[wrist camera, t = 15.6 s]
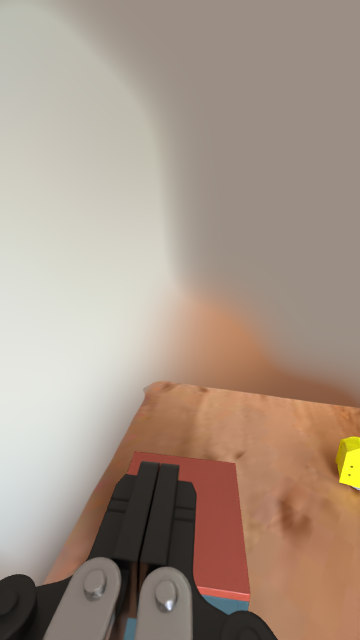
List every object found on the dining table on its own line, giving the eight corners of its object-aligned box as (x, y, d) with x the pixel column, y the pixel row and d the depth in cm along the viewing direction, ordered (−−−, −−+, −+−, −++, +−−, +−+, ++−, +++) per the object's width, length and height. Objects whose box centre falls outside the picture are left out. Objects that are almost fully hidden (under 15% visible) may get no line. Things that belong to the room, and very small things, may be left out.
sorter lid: (134, 456, 41) (134, 451, 41) (234, 468, 40) (235, 462, 39) (92, 578, 26) (92, 571, 26) (249, 602, 25) (250, 594, 25)
